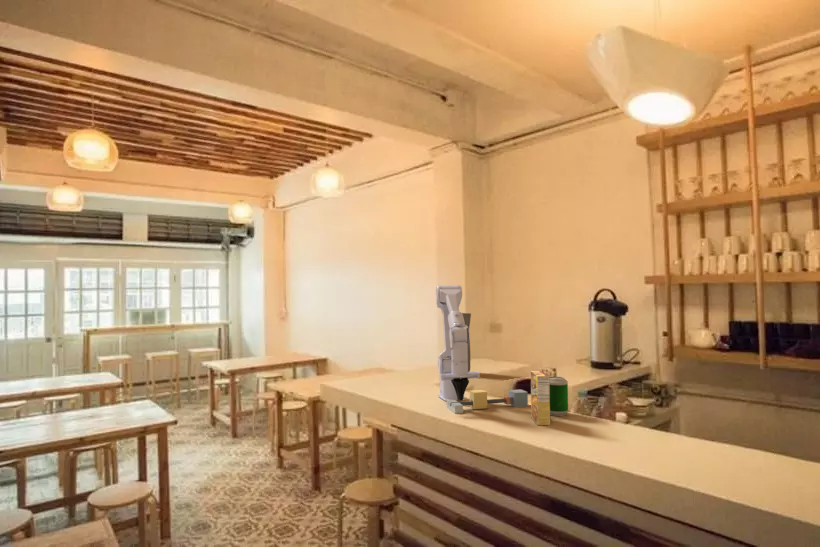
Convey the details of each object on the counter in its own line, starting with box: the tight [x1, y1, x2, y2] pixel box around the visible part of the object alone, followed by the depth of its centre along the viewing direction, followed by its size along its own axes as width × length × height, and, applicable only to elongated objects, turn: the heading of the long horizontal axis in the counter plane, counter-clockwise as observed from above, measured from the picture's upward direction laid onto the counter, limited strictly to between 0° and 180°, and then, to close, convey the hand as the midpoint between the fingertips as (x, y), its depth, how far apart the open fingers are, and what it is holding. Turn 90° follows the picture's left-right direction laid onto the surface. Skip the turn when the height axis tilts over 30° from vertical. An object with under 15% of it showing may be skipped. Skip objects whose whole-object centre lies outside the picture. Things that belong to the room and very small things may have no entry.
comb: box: [445, 400, 464, 414], centre depth 171 cm, size 9×3×3 cm, turn 15°
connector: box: [507, 389, 529, 408], centre depth 177 cm, size 5×7×5 cm
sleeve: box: [469, 389, 488, 410], centre depth 173 cm, size 4×5×6 cm
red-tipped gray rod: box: [451, 395, 511, 407], centre depth 173 cm, size 23×3×3 cm, turn 105°
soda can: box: [550, 376, 569, 417], centre depth 164 cm, size 8×8×12 cm
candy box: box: [530, 370, 551, 426], centre depth 155 cm, size 9×4×15 cm, turn 179°
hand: (460, 399), depth 171 cm, fingers closed
